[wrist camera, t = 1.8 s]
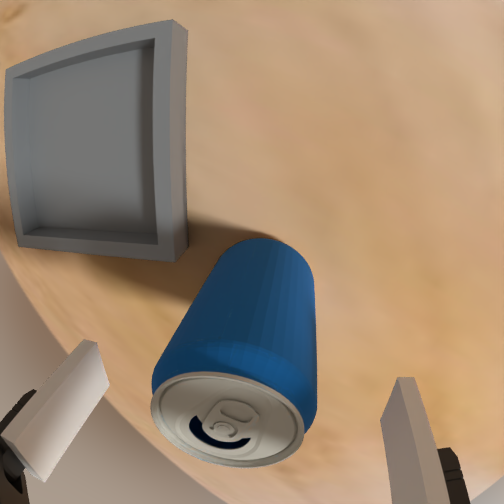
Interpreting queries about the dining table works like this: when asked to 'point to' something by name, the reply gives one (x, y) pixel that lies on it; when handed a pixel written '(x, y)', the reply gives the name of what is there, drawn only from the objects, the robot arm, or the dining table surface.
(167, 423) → the beverage can
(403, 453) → the robot arm
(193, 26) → the dining table surface
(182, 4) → the dining table surface
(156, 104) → the tray
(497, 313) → the dining table surface
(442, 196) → the dining table surface
